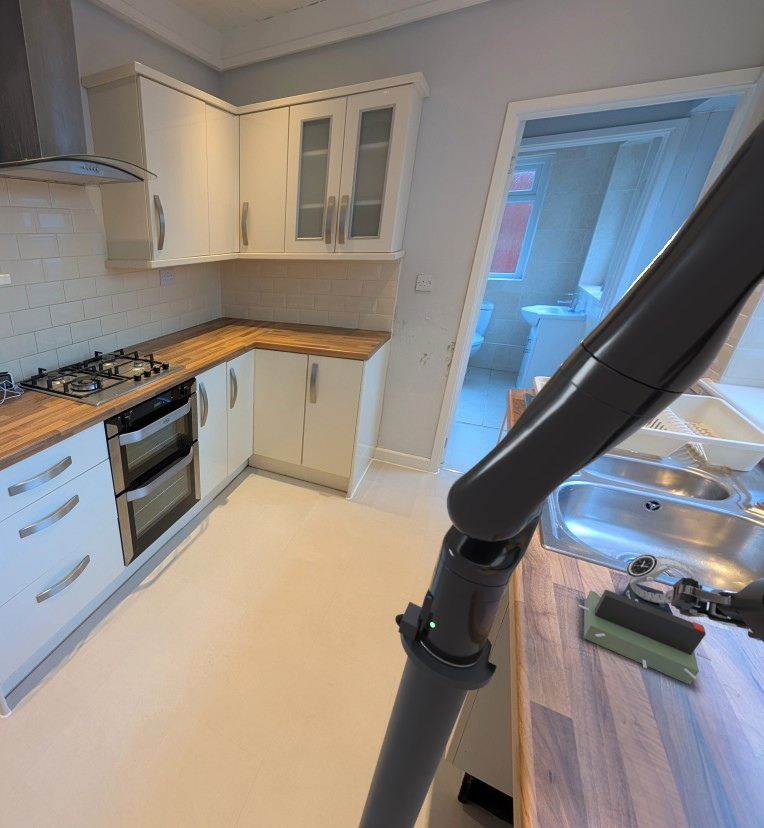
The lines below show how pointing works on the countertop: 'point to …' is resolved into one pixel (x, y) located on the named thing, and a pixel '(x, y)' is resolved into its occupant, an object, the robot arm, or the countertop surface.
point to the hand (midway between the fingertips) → (717, 617)
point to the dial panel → (637, 644)
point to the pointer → (650, 622)
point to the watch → (651, 580)
